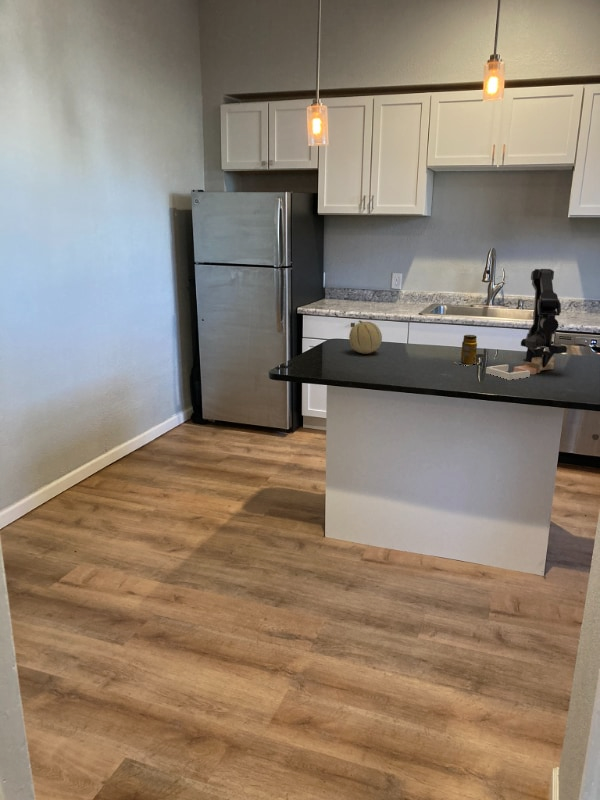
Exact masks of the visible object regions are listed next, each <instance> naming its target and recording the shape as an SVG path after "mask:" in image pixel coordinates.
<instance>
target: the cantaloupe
mask: <svg viewBox="0 0 600 800" xmlns="http://www.w3.org/2000/svg"><path fill="white" fill-rule="evenodd" d="M382 335H383V334H382V332H381V330H380V328H379V326H377V324H375V323H373V322H371V321H363V320H358V323H356V324H355V325H354V326H353V327H352V328H351V329H350V332H349V336H348V338H349V343H350V346H351V348H352V349H353V350H354V351H355V352H357V353H359V354H363V355H365V354H366V355H368V354H371V353H374V352H375V351H377V350H378V349H379V347H380V346H381V344H382V343H383V342H382V341H383V336H382Z"/></svg>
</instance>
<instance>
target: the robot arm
mask: <svg viewBox="0 0 600 800" xmlns="http://www.w3.org/2000/svg"><path fill="white" fill-rule="evenodd" d="M554 274H555V271H554V270H553V269H551V268H540V269H539V268H535V269H534V270H532V271H531V274H530V280H531V285H532V287H533V289H534V305H533V317H532V318H533V321H532V325H531V326H530V328H529V329H528V333H527V334H526V337H525V338H522V339H521V341H520V346H521V347H525V348H526V349H527V350H526V353H525V354H526V355H525V358H523V361H525V362H531V363H532V358H535V357H542V356H543V363H542V367H543V368H544V367H545V366H546V365H547V363H548V362H549V360H550V359H551V357H552V356H554V355H555V354H556V355H558V354H566V353H567V352H568V347H567V345H565V344H559V343H558V344H557V343H556V344H554V341H552V340H553V335H555V334H556V331H557V330H558V328H559V325H560V324H559V321H558V320H557V319H556V317H557V316H558V317H559V316H560V314H561V312H562V308H561V306H562V305H561V302H560V299H559V298H558V294H557V293H556V292H554V285H553V280H554V276H555V275H554Z"/></svg>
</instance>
